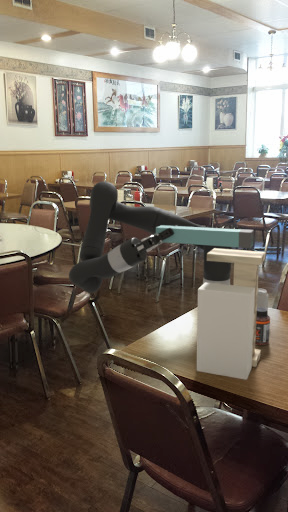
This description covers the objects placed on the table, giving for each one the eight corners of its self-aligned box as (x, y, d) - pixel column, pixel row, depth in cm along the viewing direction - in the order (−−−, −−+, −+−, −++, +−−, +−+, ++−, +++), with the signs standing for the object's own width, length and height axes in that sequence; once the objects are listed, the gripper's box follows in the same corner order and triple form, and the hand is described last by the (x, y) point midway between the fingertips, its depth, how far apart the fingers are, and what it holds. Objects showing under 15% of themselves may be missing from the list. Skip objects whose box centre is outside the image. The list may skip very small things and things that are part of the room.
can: (252, 326, 163) (253, 293, 161) (242, 319, 171) (243, 287, 168) (271, 324, 165) (272, 292, 163) (260, 317, 172) (262, 286, 170)
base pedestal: (203, 360, 138) (205, 282, 132) (251, 368, 132) (254, 287, 127) (196, 370, 131) (197, 289, 126) (246, 379, 126) (250, 294, 121)
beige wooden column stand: (211, 348, 146) (214, 248, 139) (260, 355, 141) (265, 251, 133) (204, 358, 139) (206, 253, 132) (255, 367, 133) (260, 257, 126)
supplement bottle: (246, 342, 150) (247, 309, 148) (256, 337, 154) (257, 304, 152) (262, 347, 146) (264, 313, 144) (272, 342, 150) (274, 308, 148)
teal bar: (161, 239, 133) (161, 225, 132) (253, 245, 123) (253, 229, 122) (155, 241, 130) (155, 227, 129) (250, 248, 120) (250, 232, 119)
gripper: (109, 248, 130) (159, 220, 122) (131, 239, 143) (177, 213, 135) (122, 272, 130) (173, 246, 122) (142, 261, 143) (189, 236, 135)
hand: (175, 229), depth 129 cm, fingers closed on teal bar, 4 cm apart
